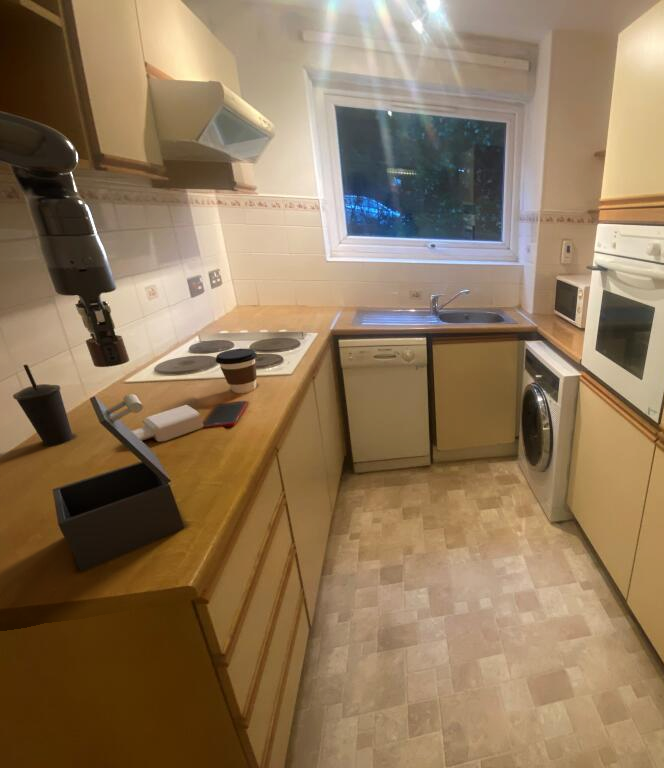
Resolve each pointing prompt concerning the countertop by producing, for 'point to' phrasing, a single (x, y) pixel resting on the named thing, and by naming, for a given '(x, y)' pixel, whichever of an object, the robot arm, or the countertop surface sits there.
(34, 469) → the countertop surface
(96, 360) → the coffee pod
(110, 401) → the countertop surface
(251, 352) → the coffee cup
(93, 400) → the lid
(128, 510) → the open grey storage box
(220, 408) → the cell phone
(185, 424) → the charger
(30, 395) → the drinking cup
